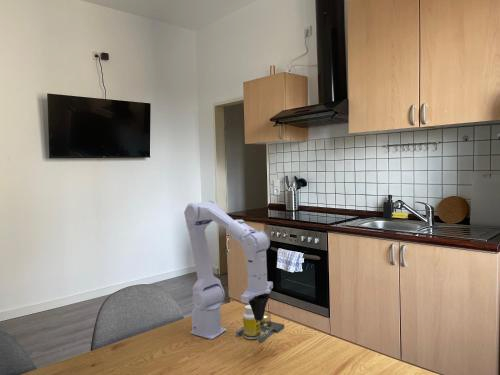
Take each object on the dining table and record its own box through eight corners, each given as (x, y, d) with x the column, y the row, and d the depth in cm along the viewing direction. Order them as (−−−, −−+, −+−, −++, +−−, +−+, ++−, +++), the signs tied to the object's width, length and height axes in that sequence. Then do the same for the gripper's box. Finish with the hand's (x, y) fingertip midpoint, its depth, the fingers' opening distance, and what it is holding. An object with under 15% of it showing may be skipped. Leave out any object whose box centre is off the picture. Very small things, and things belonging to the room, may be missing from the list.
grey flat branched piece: (232, 335, 121) (232, 323, 120) (254, 320, 132) (254, 309, 132) (264, 344, 114) (263, 331, 114) (284, 327, 125) (284, 315, 125)
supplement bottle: (259, 339, 116) (257, 309, 116) (242, 339, 117) (240, 309, 117) (262, 332, 122) (260, 303, 121) (246, 332, 123) (244, 303, 122)
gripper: (255, 282, 99) (257, 331, 99) (281, 268, 111) (282, 313, 111) (234, 279, 102) (236, 326, 103) (261, 266, 115) (262, 308, 115)
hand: (258, 319), depth 108 cm, fingers closed
